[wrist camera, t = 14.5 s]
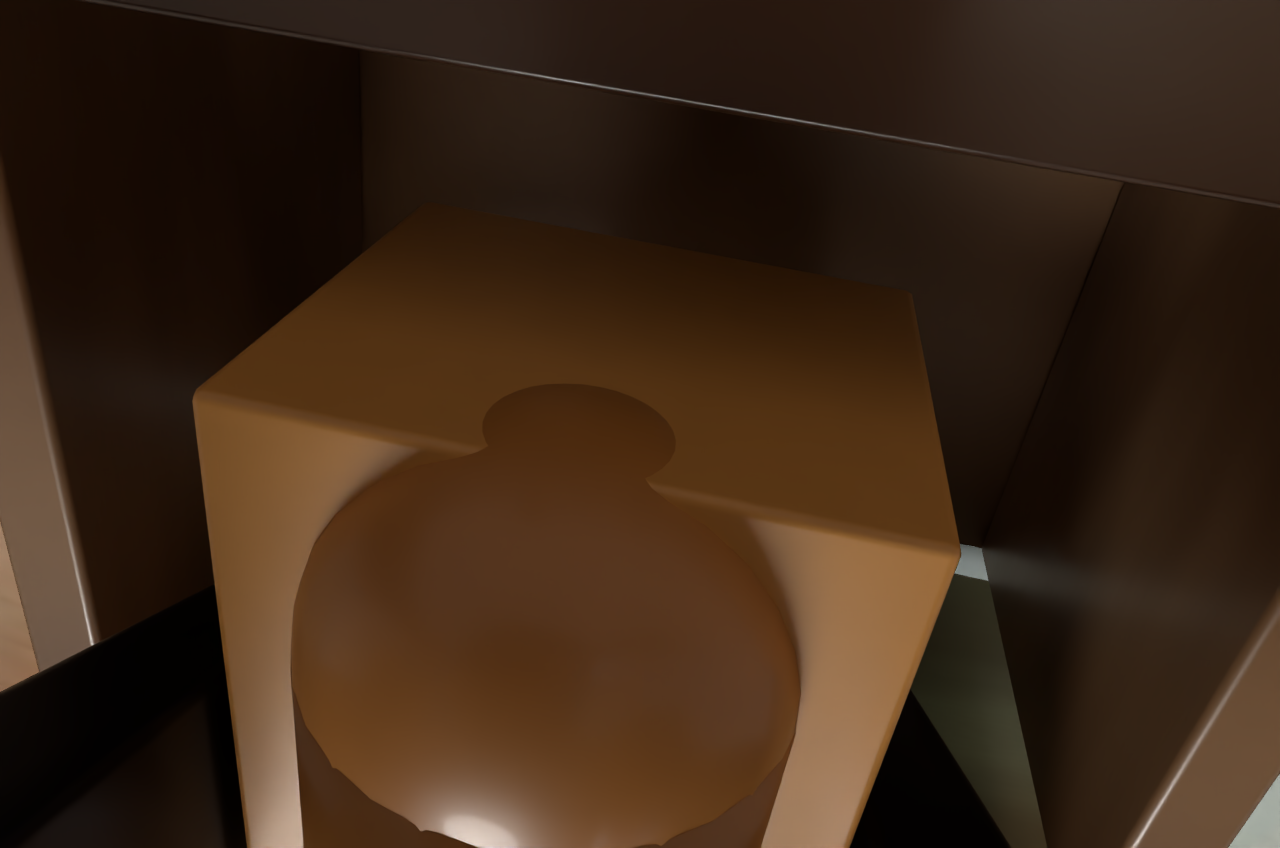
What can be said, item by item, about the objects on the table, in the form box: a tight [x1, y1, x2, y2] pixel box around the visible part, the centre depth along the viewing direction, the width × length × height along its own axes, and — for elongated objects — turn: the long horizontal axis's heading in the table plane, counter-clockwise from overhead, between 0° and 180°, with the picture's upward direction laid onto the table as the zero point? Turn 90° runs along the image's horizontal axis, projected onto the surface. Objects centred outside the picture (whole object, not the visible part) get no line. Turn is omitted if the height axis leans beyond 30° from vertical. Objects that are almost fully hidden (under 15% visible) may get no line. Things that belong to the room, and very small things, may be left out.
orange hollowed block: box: [192, 202, 961, 848], centre depth 8 cm, size 7×4×5 cm, turn 172°
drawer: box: [0, 0, 1280, 848], centre depth 12 cm, size 18×13×8 cm
